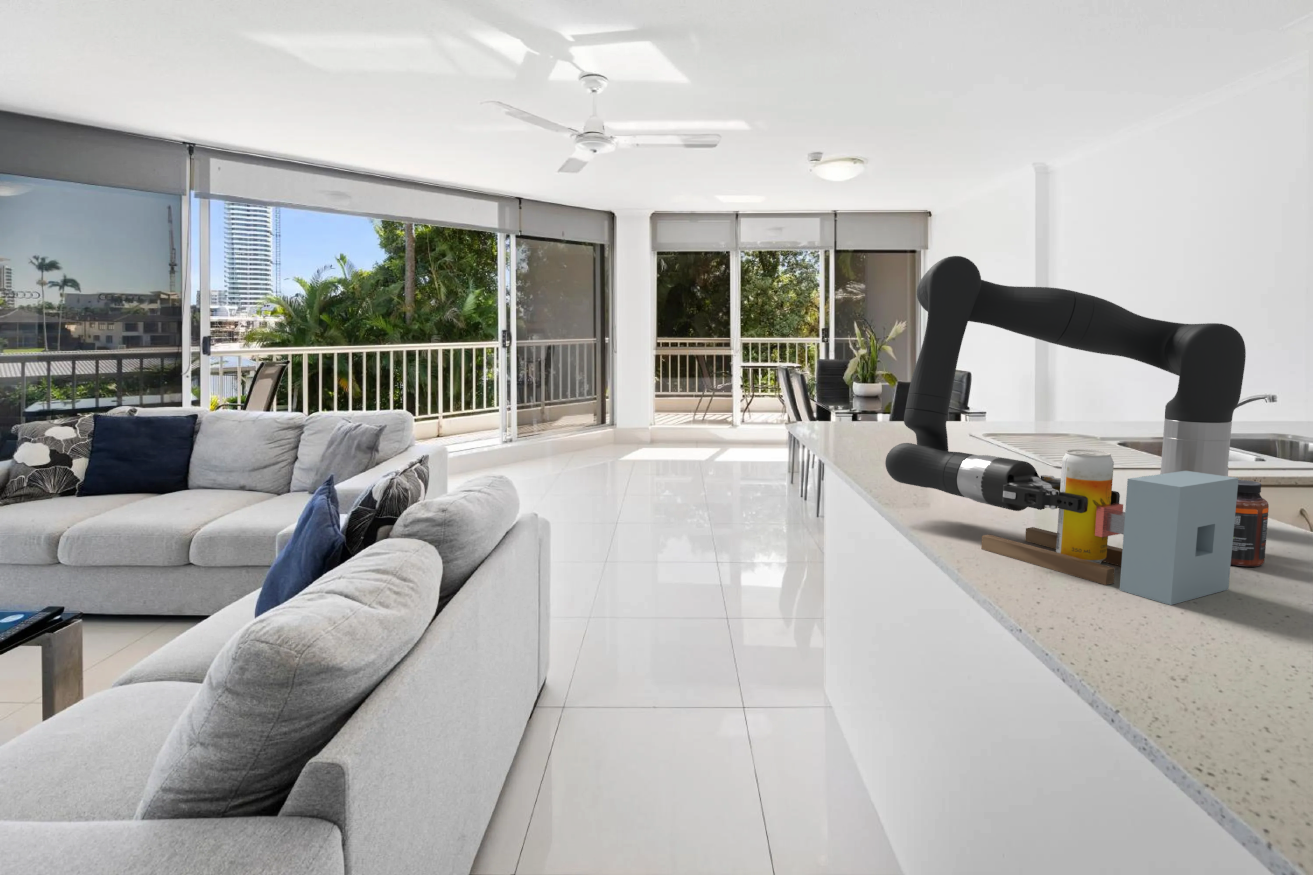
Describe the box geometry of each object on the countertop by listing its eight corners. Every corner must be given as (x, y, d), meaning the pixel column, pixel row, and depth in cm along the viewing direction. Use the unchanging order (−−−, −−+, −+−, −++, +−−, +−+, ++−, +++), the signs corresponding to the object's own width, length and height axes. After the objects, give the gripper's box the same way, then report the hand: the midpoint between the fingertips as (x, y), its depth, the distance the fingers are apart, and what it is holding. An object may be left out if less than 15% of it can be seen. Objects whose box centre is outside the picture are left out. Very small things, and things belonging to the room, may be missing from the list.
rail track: (1032, 539, 117) (1032, 527, 116) (1159, 572, 100) (1160, 557, 100) (981, 548, 112) (981, 535, 112) (1105, 584, 95) (1106, 569, 95)
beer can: (1113, 567, 100) (1121, 456, 98) (1063, 564, 101) (1071, 455, 99) (1096, 554, 106) (1104, 449, 104) (1049, 552, 107) (1056, 448, 105)
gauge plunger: (1113, 532, 101) (1115, 502, 101) (1193, 550, 92) (1196, 518, 92) (1094, 535, 100) (1096, 506, 99) (1174, 554, 91) (1177, 521, 90)
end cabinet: (1172, 575, 99) (1181, 470, 97) (1228, 589, 93) (1238, 478, 91) (1115, 588, 93) (1123, 478, 92) (1170, 604, 88) (1180, 486, 86)
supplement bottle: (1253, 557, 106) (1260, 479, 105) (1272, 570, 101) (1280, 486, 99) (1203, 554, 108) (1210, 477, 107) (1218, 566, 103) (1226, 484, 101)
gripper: (964, 460, 112) (1068, 479, 97) (1029, 453, 118) (1137, 470, 103) (961, 510, 113) (1065, 536, 98) (1027, 500, 119) (1133, 523, 104)
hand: (1101, 502), depth 100 cm, fingers closed on beer can, 6 cm apart
